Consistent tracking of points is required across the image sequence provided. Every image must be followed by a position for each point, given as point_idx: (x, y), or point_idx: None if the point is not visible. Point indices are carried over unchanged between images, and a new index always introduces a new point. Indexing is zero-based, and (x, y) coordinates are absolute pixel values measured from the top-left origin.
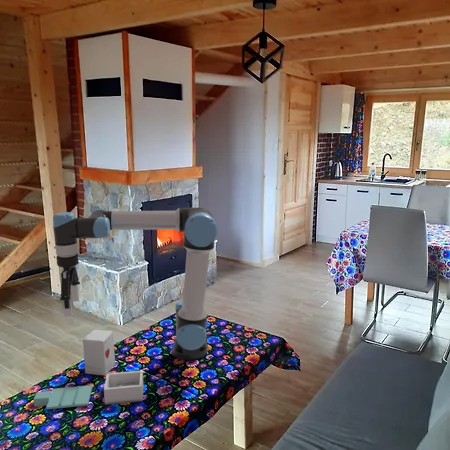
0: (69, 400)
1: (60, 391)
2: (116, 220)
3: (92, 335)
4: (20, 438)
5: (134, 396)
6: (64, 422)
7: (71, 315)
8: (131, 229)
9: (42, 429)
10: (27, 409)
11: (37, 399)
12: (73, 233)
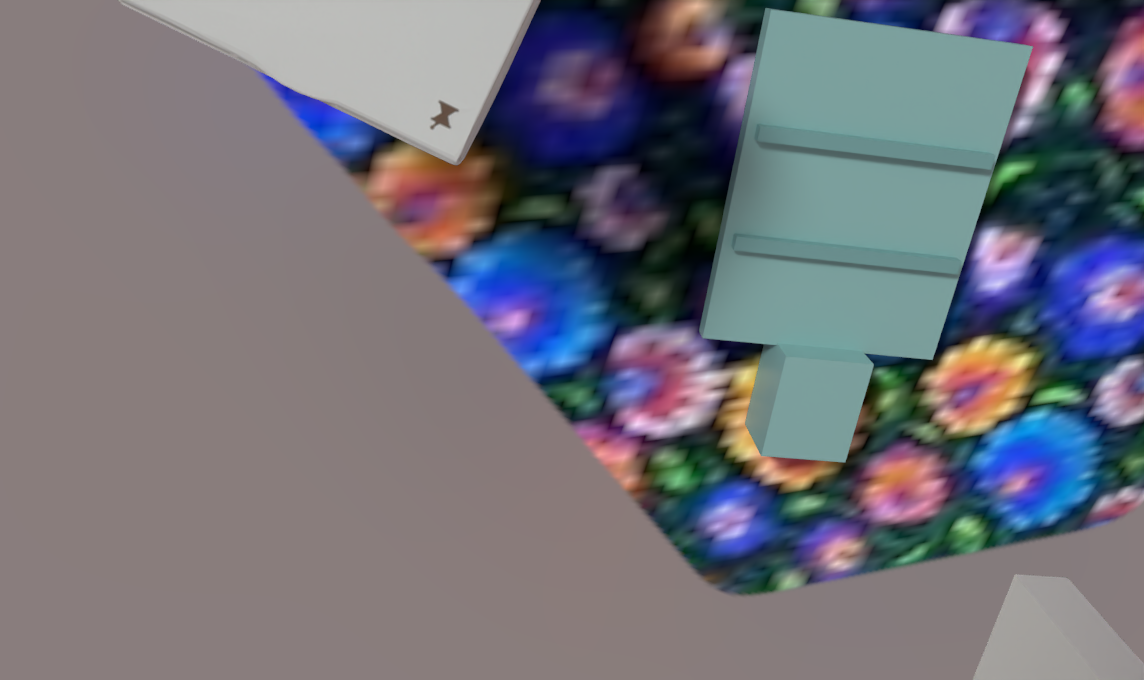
0: (923, 200)
1: (763, 282)
2: None
3: (361, 18)
4: (1120, 452)
5: None
6: (1107, 211)
7: (1071, 601)
8: None
9: (1104, 344)
10: (837, 466)
11: (850, 434)
12: None
